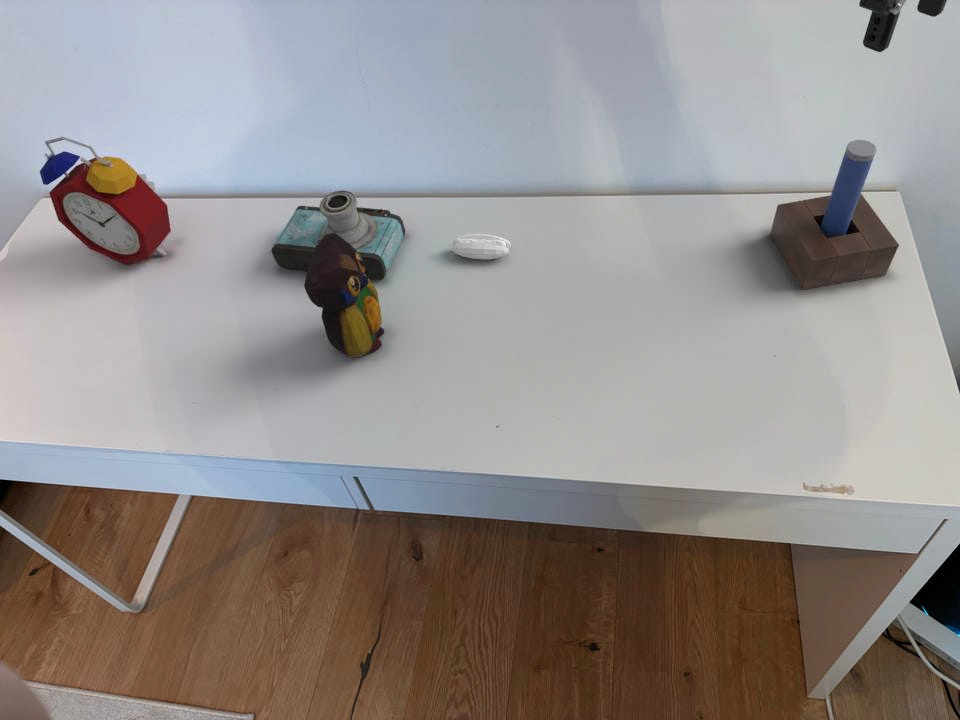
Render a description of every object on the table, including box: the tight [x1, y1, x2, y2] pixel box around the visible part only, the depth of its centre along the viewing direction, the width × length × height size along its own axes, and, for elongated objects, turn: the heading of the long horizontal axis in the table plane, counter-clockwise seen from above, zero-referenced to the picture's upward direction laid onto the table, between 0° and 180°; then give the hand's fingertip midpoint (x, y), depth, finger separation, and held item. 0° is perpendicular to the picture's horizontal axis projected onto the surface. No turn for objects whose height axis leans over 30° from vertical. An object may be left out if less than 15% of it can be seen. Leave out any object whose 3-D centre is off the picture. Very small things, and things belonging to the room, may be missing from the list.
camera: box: [270, 190, 406, 280], centre depth 100 cm, size 16×10×10 cm
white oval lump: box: [451, 233, 512, 261], centre depth 99 cm, size 3×8×3 cm, turn 79°
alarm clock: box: [39, 136, 172, 265], centre depth 102 cm, size 15×9×20 cm, turn 72°
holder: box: [769, 193, 900, 290], centre depth 90 cm, size 10×10×5 cm
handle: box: [820, 139, 877, 238], centre depth 86 cm, size 3×3×16 cm
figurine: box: [303, 232, 385, 358], centre depth 86 cm, size 10×7×15 cm
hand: (901, 30), depth 70 cm, fingers open, 8 cm apart
